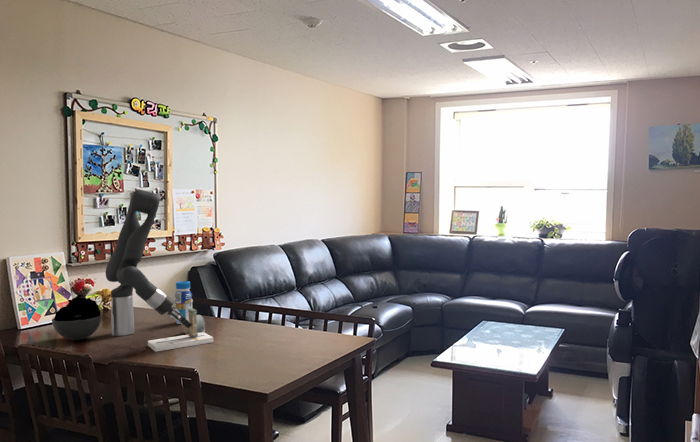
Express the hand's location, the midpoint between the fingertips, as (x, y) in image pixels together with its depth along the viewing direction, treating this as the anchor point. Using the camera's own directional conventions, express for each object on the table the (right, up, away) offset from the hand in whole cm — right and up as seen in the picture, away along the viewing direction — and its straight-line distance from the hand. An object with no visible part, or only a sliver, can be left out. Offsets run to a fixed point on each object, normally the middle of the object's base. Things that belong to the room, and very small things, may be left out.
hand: (189, 326), depth 246 cm
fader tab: (+1, -4, +1) cm, 5 cm away
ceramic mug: (-2, -6, +17) cm, 18 cm away
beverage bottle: (-14, -6, +40) cm, 43 cm away
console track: (-3, -7, -2) cm, 8 cm away
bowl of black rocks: (-52, -8, +11) cm, 54 cm away
